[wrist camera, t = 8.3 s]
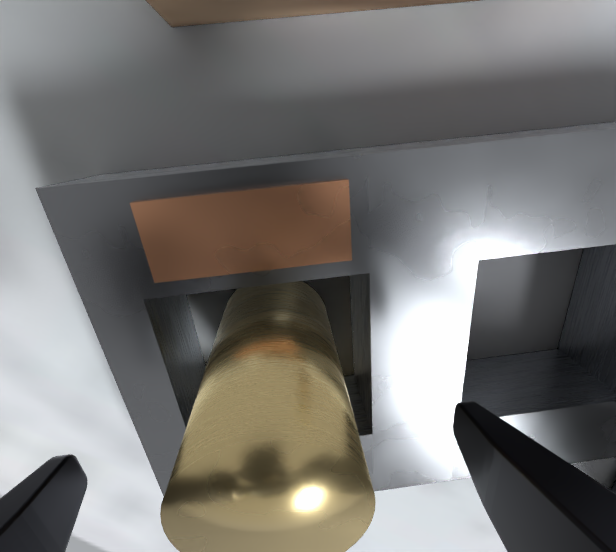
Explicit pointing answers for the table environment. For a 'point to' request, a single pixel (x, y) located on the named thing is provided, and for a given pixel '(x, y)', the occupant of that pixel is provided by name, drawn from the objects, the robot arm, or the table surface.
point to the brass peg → (270, 436)
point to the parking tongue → (267, 9)
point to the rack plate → (363, 282)
